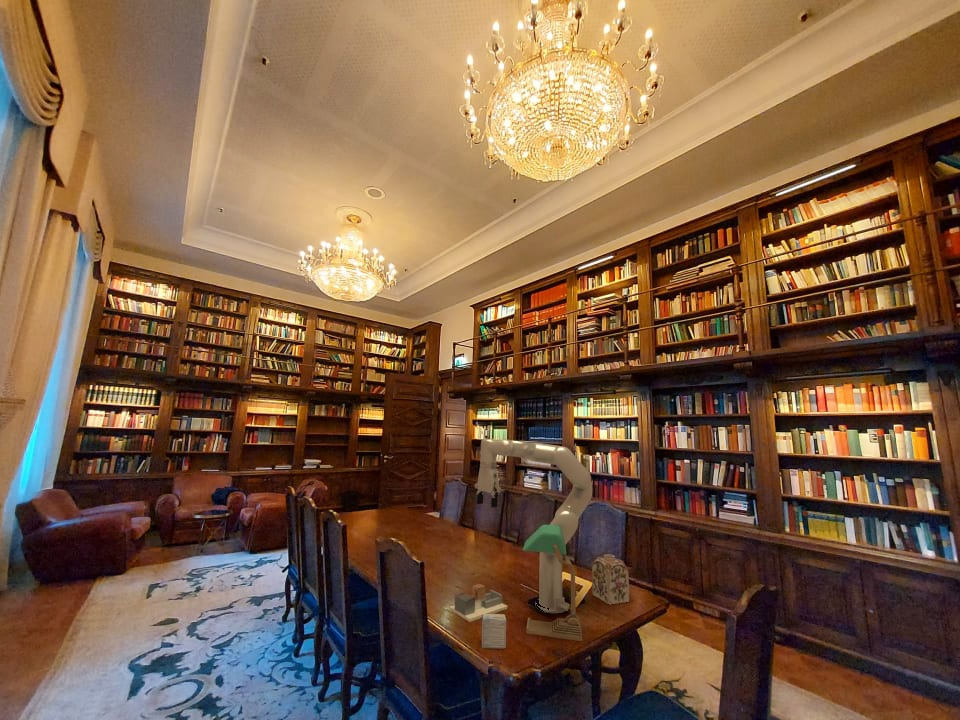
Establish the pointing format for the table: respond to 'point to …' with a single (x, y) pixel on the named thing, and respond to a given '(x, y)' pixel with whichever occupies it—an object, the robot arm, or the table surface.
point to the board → (485, 607)
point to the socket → (464, 604)
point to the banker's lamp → (570, 628)
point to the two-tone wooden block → (479, 595)
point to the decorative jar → (610, 580)
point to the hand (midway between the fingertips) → (486, 505)
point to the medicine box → (493, 631)
